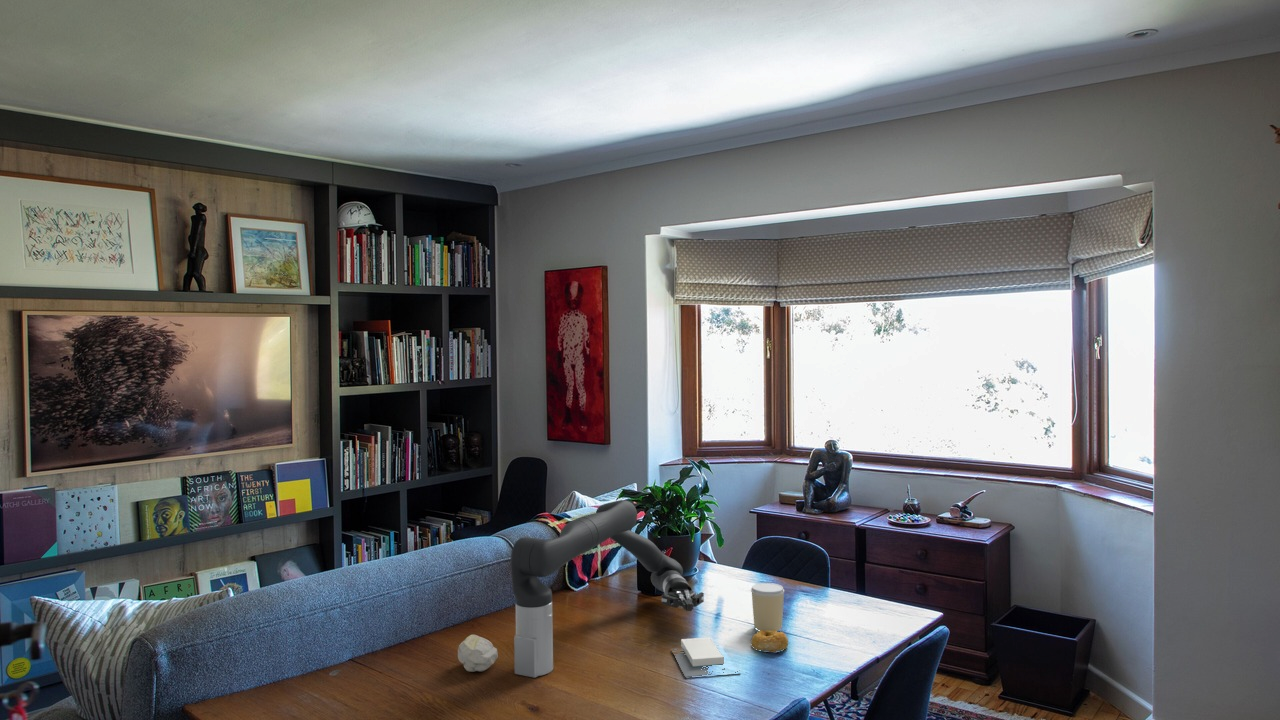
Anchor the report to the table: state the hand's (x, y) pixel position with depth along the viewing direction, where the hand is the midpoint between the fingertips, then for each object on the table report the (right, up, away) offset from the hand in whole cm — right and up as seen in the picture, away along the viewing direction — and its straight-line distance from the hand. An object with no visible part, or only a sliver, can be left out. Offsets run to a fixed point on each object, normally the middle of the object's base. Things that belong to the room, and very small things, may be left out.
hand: (689, 607), depth 224 cm
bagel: (+21, -9, -6) cm, 24 cm away
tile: (+1, -7, -7) cm, 10 cm away
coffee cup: (+23, -8, +7) cm, 26 cm away
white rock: (-55, -10, -18) cm, 59 cm away
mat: (+3, -9, -16) cm, 19 cm away
